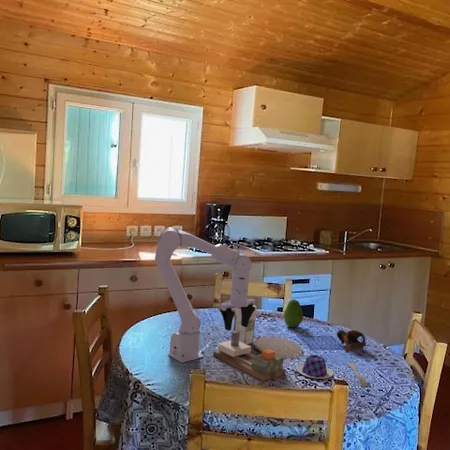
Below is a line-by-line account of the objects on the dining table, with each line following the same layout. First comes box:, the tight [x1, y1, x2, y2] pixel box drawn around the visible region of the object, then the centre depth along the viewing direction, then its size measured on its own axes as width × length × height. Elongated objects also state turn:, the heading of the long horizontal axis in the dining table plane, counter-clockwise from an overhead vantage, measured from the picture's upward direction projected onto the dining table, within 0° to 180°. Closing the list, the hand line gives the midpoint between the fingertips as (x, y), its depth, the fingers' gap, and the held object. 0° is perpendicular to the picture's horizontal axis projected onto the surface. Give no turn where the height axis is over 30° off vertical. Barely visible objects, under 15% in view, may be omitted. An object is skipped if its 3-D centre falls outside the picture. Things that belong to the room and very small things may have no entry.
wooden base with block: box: [212, 349, 286, 382], centre depth 162 cm, size 10×24×6 cm, turn 42°
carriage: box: [217, 330, 252, 357], centre depth 167 cm, size 8×8×7 cm
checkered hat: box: [295, 354, 334, 380], centre depth 161 cm, size 12×12×5 cm
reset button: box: [261, 348, 276, 360], centre depth 156 cm, size 3×3×3 cm
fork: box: [346, 362, 368, 387], centre depth 162 cm, size 3×21×3 cm, turn 178°
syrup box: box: [232, 304, 258, 345], centre depth 182 cm, size 6×6×14 cm
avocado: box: [283, 298, 304, 328], centre depth 206 cm, size 8×8×12 cm
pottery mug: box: [336, 329, 367, 353], centre depth 186 cm, size 12×10×8 cm
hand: (236, 328), depth 167 cm, fingers open, 7 cm apart
